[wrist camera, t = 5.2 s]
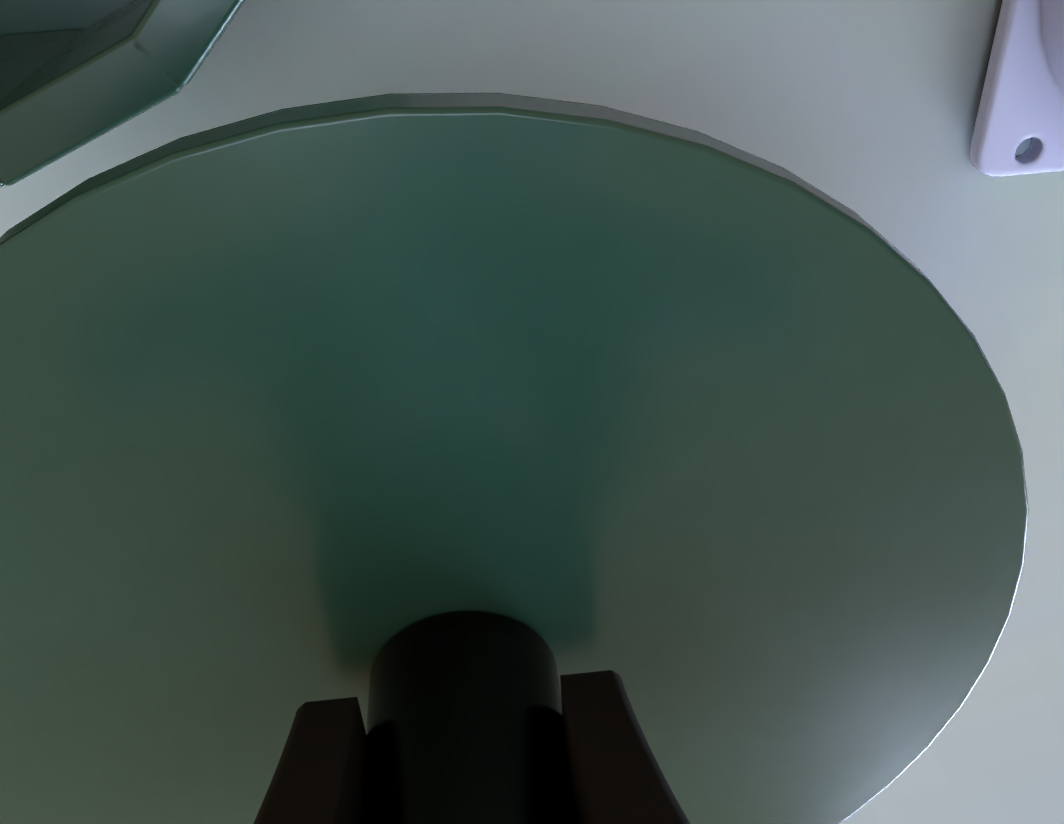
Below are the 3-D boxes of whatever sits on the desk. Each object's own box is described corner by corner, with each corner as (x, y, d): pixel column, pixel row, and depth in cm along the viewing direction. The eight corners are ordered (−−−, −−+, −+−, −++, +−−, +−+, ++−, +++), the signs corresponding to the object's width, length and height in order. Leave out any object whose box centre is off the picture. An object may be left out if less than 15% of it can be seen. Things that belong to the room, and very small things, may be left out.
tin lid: (1139, 17, 9) (1717, 240, 5) (886, 840, 18) (1026, 1175, 14) (-417, 132, 9) (-1199, 497, 4) (92, 932, 17) (-15, 1314, 13)
